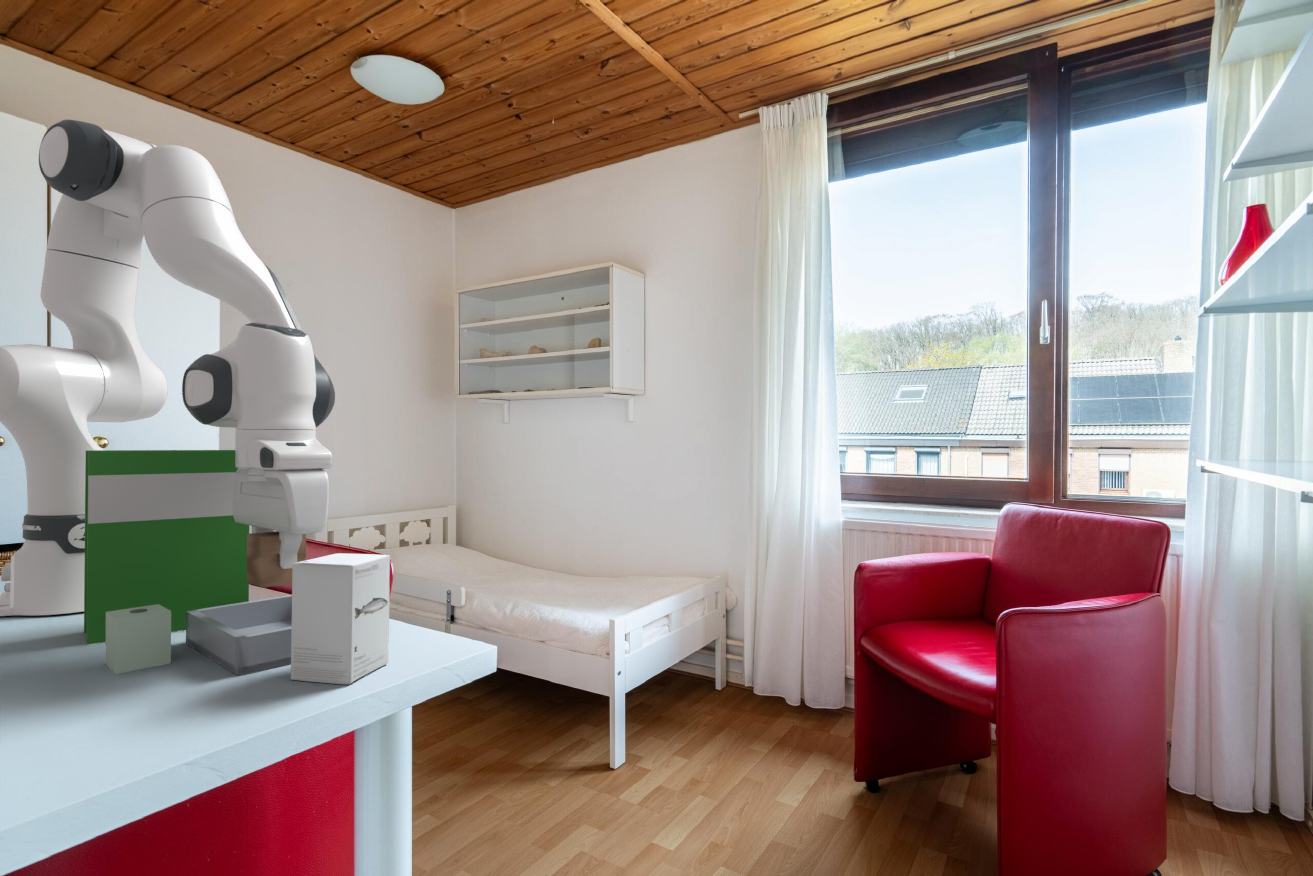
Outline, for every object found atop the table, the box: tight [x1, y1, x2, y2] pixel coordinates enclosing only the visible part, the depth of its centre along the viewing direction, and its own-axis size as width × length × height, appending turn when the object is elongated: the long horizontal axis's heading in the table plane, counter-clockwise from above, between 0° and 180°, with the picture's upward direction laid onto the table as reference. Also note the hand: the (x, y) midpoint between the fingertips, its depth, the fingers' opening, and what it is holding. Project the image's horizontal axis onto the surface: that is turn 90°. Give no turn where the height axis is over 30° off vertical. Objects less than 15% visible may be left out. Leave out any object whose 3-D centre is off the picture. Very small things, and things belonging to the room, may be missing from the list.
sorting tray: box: [185, 594, 292, 677], centre depth 86 cm, size 18×14×4 cm
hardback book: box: [83, 449, 250, 645], centre depth 95 cm, size 18×7×24 cm, turn 132°
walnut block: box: [247, 530, 307, 589], centre depth 86 cm, size 5×5×6 cm
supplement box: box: [290, 552, 391, 686], centre depth 77 cm, size 7×7×13 cm
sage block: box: [104, 604, 172, 675], centre depth 79 cm, size 5×5×6 cm
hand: (276, 564), depth 86 cm, fingers closed on walnut block, 5 cm apart
